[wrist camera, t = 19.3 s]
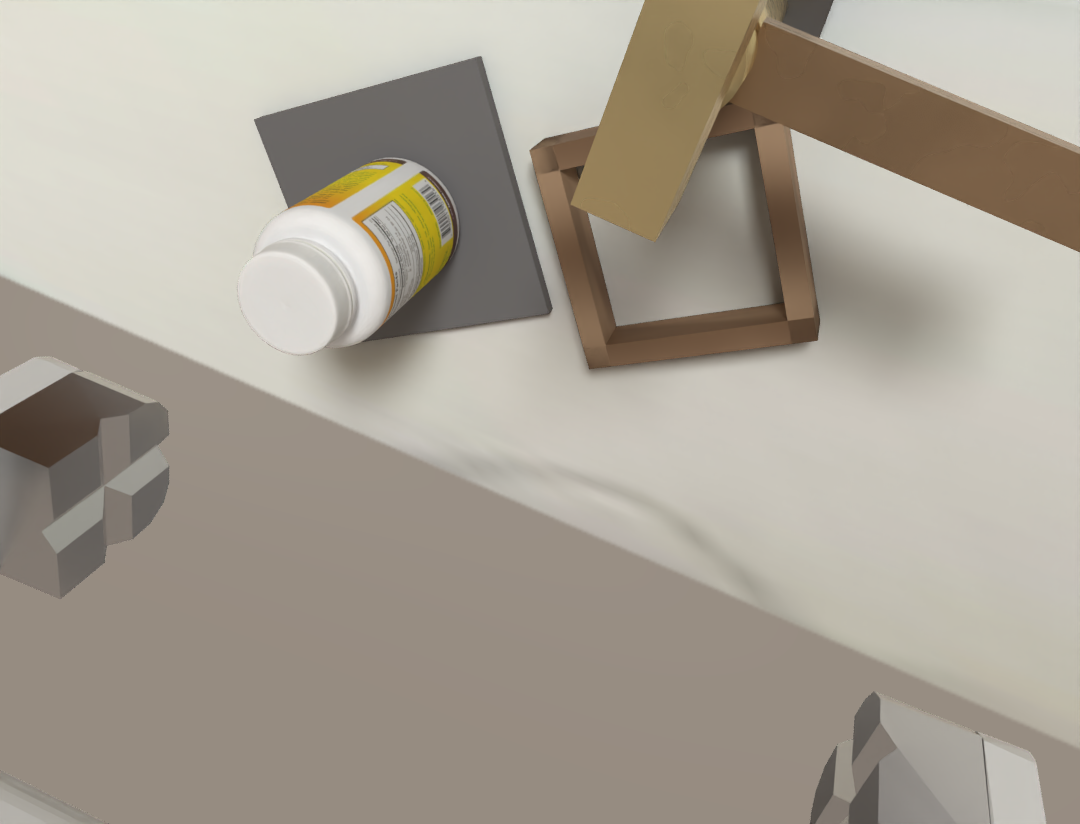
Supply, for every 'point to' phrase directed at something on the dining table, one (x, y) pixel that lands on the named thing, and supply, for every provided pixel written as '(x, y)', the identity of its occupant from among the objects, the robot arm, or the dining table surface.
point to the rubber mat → (454, 158)
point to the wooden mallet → (806, 120)
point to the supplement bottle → (348, 257)
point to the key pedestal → (807, 15)
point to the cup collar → (693, 332)
